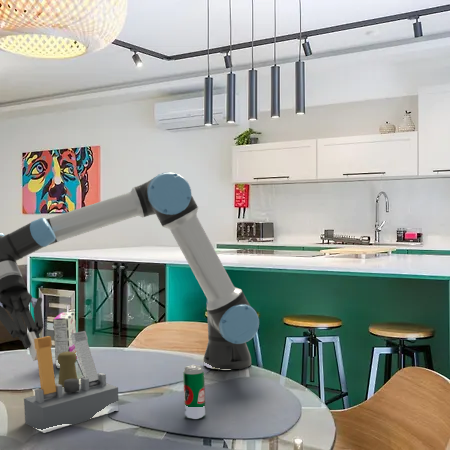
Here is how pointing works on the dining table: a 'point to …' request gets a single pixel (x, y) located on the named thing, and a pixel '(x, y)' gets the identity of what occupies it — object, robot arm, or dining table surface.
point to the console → (69, 404)
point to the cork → (67, 367)
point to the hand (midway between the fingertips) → (38, 356)
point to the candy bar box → (64, 333)
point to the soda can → (194, 386)
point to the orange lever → (45, 366)
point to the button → (71, 385)
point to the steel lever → (85, 357)
